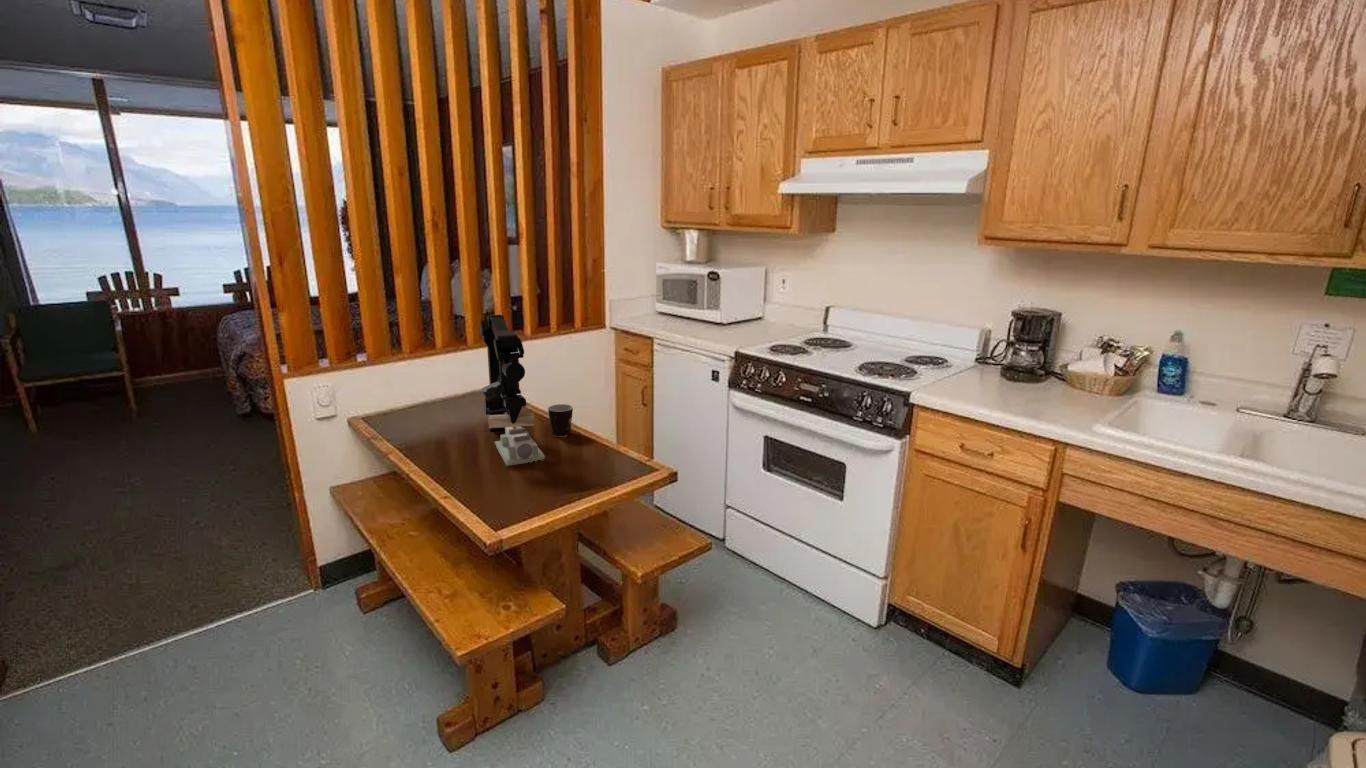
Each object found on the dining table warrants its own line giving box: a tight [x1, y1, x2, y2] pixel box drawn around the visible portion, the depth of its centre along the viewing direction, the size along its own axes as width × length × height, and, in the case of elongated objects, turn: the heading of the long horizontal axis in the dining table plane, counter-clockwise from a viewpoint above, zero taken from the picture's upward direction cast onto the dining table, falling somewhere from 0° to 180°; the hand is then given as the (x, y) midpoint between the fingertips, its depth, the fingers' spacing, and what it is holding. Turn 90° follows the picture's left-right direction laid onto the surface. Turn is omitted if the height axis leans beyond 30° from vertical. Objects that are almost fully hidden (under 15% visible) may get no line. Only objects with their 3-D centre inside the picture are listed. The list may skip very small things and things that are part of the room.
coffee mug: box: [547, 403, 574, 436], centre depth 215 cm, size 12×9×10 cm
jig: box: [494, 426, 546, 467], centre depth 199 cm, size 21×12×9 cm, turn 27°
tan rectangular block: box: [487, 412, 536, 428], centre depth 195 cm, size 4×14×3 cm, turn 104°
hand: (512, 421), depth 195 cm, fingers closed on tan rectangular block, 4 cm apart
